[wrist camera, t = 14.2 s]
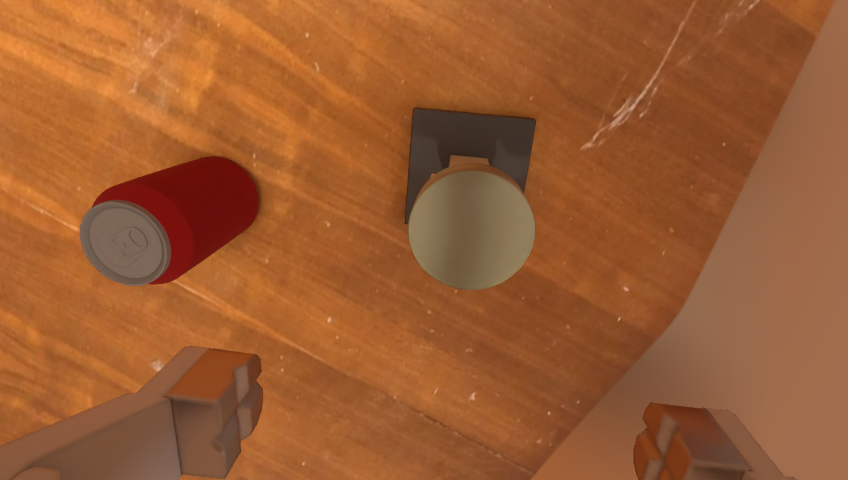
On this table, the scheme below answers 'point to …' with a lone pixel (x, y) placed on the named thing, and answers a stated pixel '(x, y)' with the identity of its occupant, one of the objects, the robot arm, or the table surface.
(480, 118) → the stand
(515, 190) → the disc
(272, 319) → the table surface
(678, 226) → the table surface
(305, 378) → the table surface
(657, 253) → the table surface
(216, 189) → the beverage can
